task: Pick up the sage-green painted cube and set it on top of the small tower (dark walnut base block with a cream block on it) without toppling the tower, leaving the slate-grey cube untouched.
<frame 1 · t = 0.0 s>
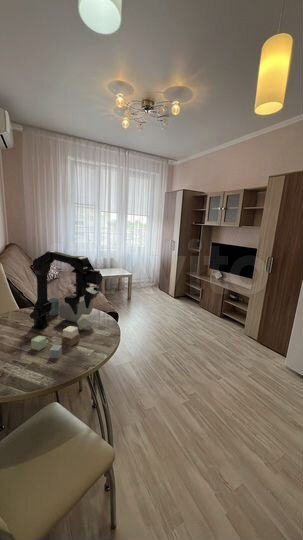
hand: (81, 311, 113), 15 cm above the table, fingers open, 9 cm apart
die: (85, 329, 126), on the table
tower base: (70, 342, 111), on the table, touching tower top
alarm clock: (77, 318, 140), on the table
tower top: (70, 335, 110), point 4 cm above the table, touching tower base
sage cube: (39, 347, 105), on the table
slate cube: (56, 355, 100), on the table
cup: (53, 314, 142), on the table
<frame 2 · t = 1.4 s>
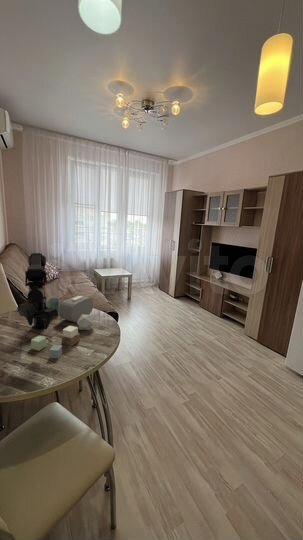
hand: (38, 327, 103), 10 cm above the table, fingers open, 9 cm apart
tower base: (70, 342, 112), on the table
tower top: (70, 335, 111), point 4 cm above the table
everything else where it was.
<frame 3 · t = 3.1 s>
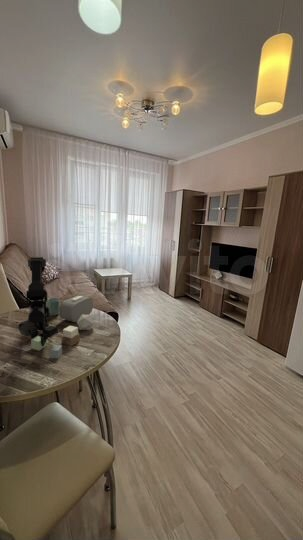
hand: (39, 344, 105), 1 cm above the table, fingers closed on sage cube, 4 cm apart
tower base: (70, 342, 112), on the table, touching tower top
tower top: (70, 335, 111), point 4 cm above the table, touching tower base
sage cube: (39, 347, 105), on the table, touching gripper
everything else where it was.
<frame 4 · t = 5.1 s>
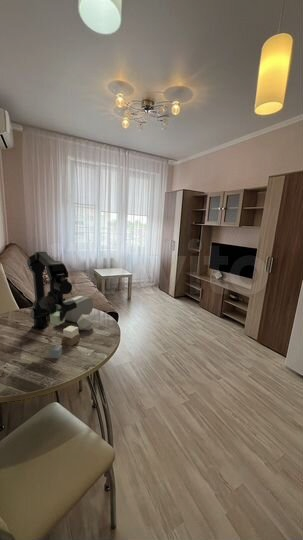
hand: (57, 320, 106), 13 cm above the table, fingers closed on sage cube, 4 cm apart
sage cube: (57, 322, 106), point 11 cm above the table, touching gripper
everything else where it was.
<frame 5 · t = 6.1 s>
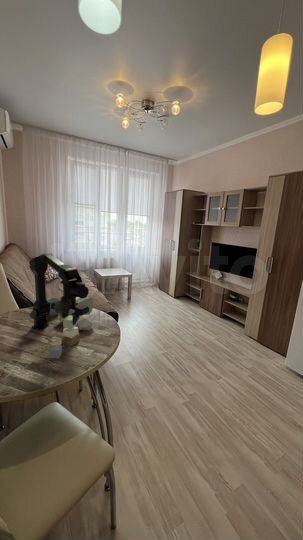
hand: (70, 323, 109), 10 cm above the table, fingers closed on sage cube, 4 cm apart
sage cube: (70, 326, 110), point 9 cm above the table, touching gripper
everything else where it was.
when the fingers open (10 cm above the table, at t = 6.8 s): sage cube drops 1 cm, resting on tower top.
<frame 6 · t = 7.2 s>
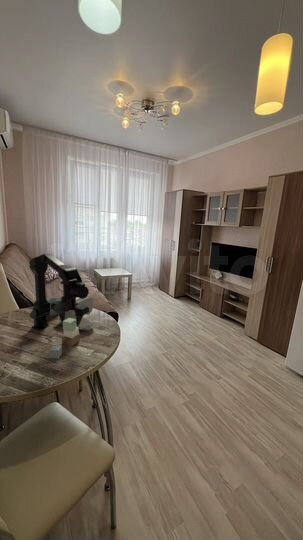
hand: (70, 324, 109), 10 cm above the table, fingers open, 9 cm apart
tower top: (71, 334, 111), point 4 cm above the table, touching sage cube, tower base
sage cube: (69, 328, 110), point 7 cm above the table, touching tower top
everything else where it was.
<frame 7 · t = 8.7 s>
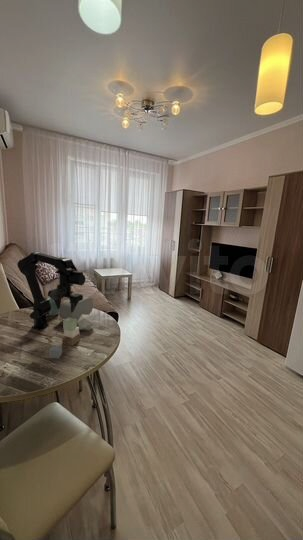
hand: (65, 310, 118), 13 cm above the table, fingers open, 9 cm apart
nothing on the table moved.
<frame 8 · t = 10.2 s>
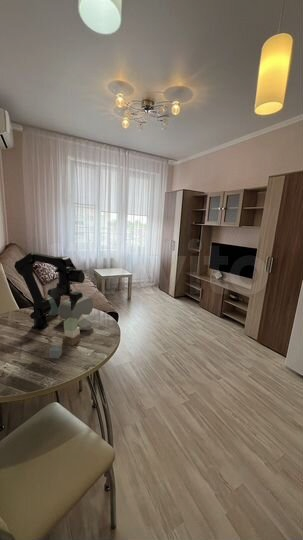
hand: (65, 308, 119), 13 cm above the table, fingers open, 9 cm apart
nothing on the table moved.
at the end: sage cube 0.2 cm off-centre on the tower base, point 7.5 cm above the tower base's base; tower top 0.4 cm off-centre on the tower base, point 4.0 cm above the tower base's base; sage cube tilted 0° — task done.
